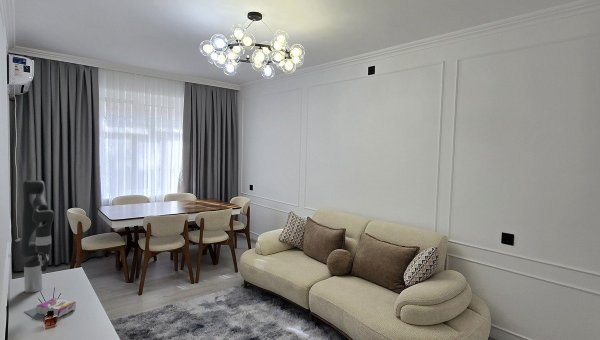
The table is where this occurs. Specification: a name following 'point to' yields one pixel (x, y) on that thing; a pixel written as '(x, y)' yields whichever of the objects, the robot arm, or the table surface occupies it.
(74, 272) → the table surface
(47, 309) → the candy bar box
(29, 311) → the mat
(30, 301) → the table surface
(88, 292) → the table surface
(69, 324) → the table surface
